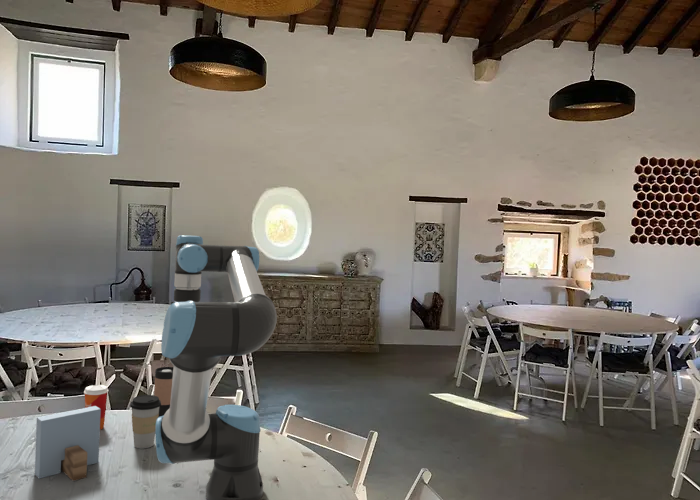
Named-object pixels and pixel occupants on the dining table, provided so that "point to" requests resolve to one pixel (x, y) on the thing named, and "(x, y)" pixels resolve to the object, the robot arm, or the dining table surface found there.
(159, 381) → the travel mug
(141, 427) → the coffee cup
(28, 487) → the dining table surface
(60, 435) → the light blue slab
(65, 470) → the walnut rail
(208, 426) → the robot arm
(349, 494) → the dining table surface
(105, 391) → the paper cup
